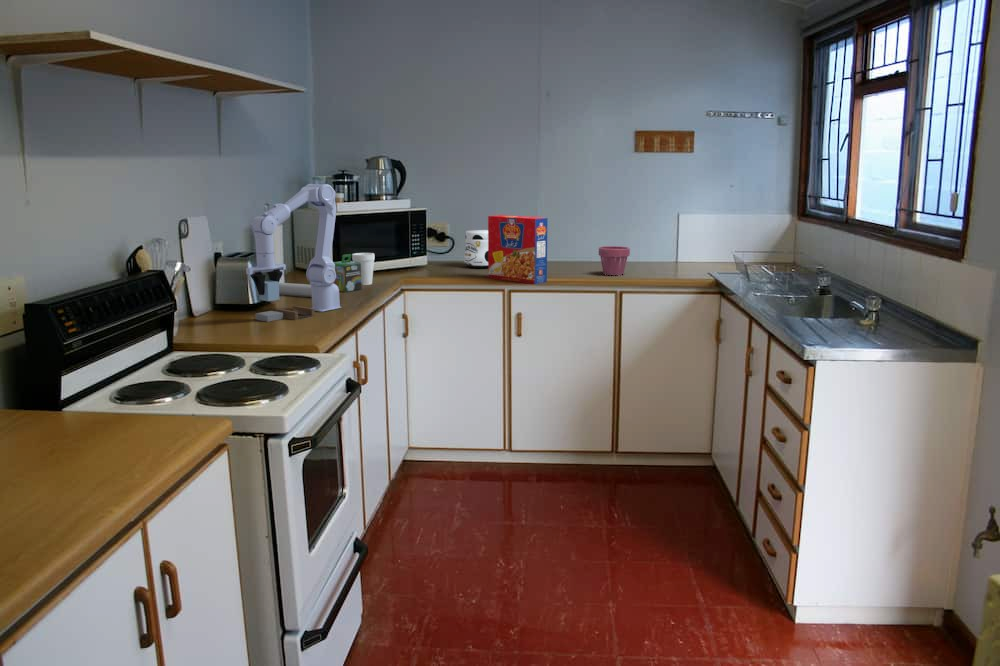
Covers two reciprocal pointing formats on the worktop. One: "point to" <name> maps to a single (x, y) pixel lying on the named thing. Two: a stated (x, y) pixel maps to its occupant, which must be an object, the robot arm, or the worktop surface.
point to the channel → (297, 312)
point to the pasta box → (517, 248)
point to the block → (270, 291)
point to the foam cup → (365, 266)
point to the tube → (295, 289)
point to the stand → (269, 316)
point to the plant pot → (613, 259)
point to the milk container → (476, 248)
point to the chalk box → (348, 275)
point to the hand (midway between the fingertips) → (267, 293)
